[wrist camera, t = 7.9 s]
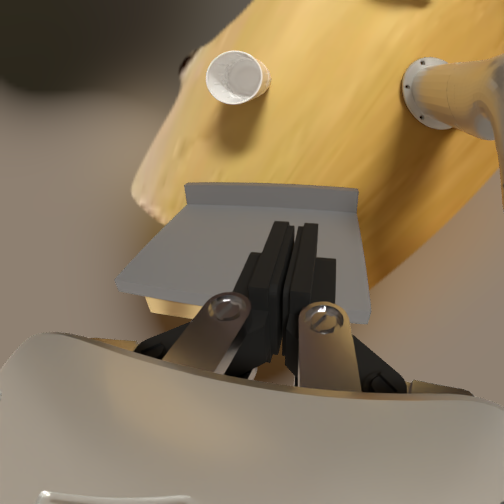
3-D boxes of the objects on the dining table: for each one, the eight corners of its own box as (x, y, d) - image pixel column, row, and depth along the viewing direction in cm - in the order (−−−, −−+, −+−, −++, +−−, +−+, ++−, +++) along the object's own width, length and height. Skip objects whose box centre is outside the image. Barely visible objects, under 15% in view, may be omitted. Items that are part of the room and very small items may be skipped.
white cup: (268, 105, 43) (255, 110, 35) (224, 95, 43) (201, 98, 35) (279, 62, 38) (268, 56, 30) (233, 53, 39) (211, 47, 31)
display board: (357, 188, 47) (379, 281, 26) (352, 238, 52) (360, 346, 31) (187, 182, 54) (104, 254, 33) (194, 227, 60) (127, 312, 38)
